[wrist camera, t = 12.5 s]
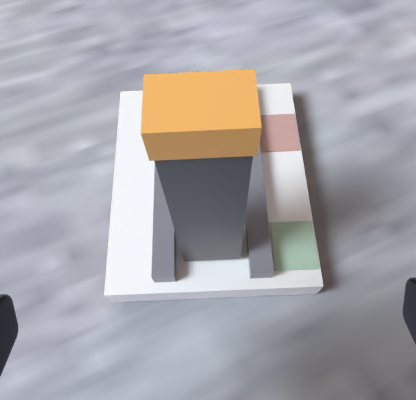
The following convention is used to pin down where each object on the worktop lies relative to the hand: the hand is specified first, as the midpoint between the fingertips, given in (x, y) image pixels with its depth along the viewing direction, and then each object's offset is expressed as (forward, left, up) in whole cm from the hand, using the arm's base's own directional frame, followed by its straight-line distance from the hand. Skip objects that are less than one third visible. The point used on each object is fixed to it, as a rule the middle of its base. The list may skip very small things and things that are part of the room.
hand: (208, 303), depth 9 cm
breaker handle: (+2, -4, -9) cm, 10 cm away
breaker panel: (+5, -7, -10) cm, 13 cm away
